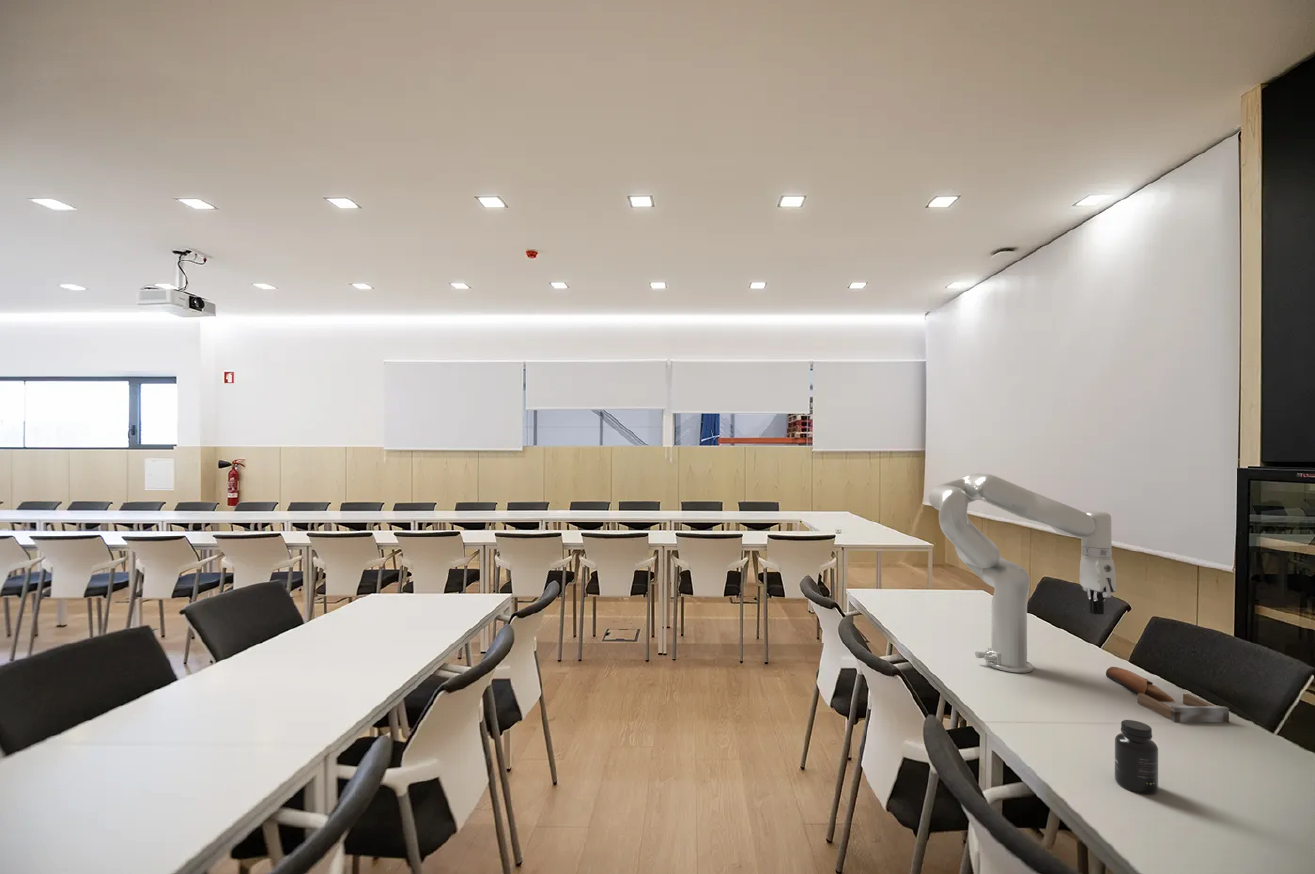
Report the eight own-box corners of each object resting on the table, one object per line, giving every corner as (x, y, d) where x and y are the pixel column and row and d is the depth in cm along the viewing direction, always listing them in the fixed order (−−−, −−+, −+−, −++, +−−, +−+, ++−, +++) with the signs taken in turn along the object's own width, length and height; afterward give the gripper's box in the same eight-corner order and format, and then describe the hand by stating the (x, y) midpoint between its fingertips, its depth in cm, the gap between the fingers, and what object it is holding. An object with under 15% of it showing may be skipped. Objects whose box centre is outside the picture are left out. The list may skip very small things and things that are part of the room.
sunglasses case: (1179, 702, 166) (1165, 679, 167) (1154, 714, 167) (1140, 692, 167) (1136, 678, 184) (1123, 657, 184) (1113, 689, 185) (1101, 668, 185)
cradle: (1174, 722, 154) (1174, 707, 154) (1137, 702, 166) (1137, 689, 166) (1229, 722, 154) (1228, 708, 154) (1188, 703, 166) (1188, 689, 166)
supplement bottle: (1105, 777, 127) (1105, 717, 127) (1137, 776, 128) (1137, 716, 128) (1134, 796, 120) (1134, 732, 120) (1167, 795, 121) (1167, 731, 121)
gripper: (1127, 556, 184) (1127, 620, 183) (1091, 548, 199) (1091, 607, 198) (1101, 556, 184) (1101, 620, 183) (1067, 548, 199) (1067, 607, 198)
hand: (1096, 613), depth 191 cm, fingers closed
